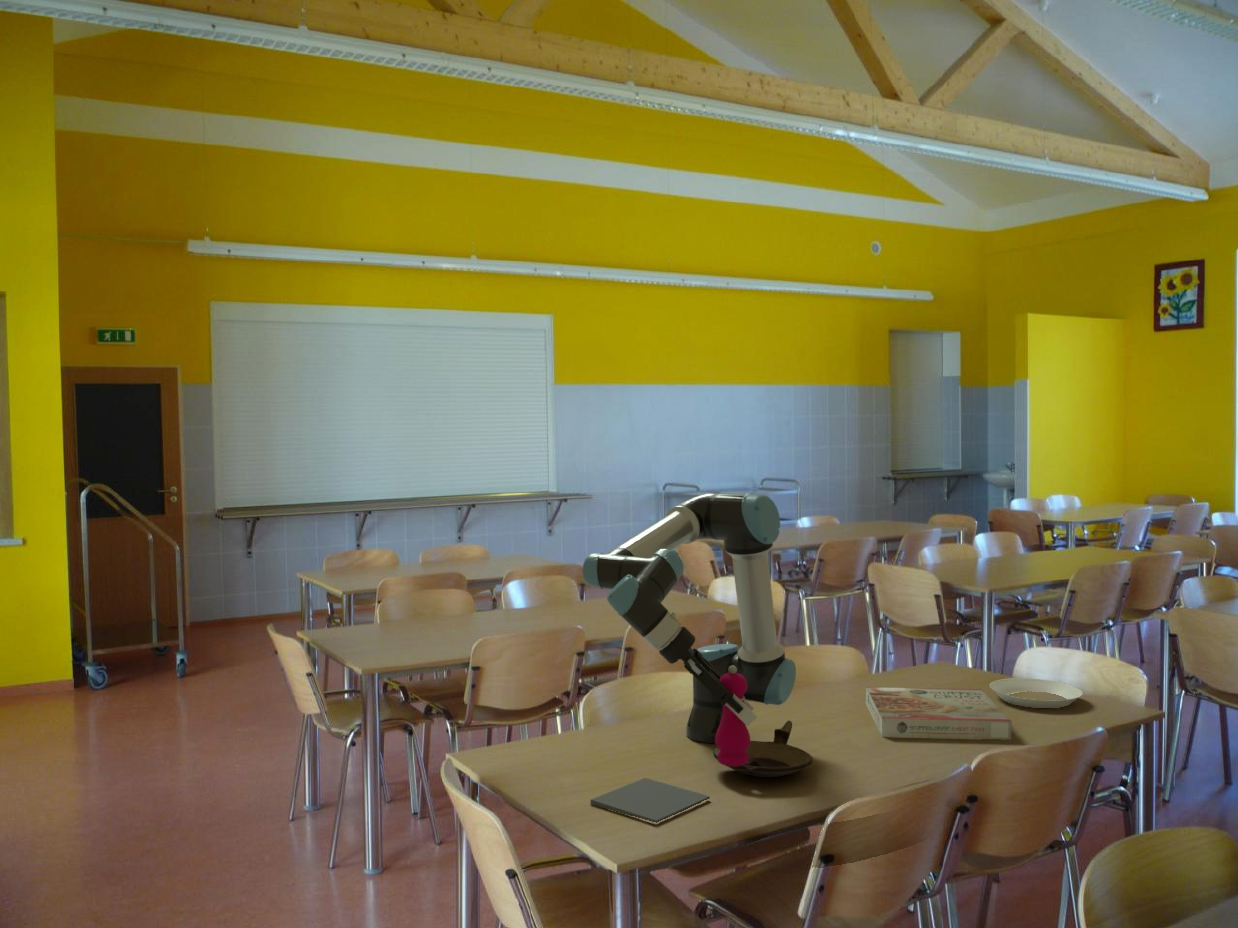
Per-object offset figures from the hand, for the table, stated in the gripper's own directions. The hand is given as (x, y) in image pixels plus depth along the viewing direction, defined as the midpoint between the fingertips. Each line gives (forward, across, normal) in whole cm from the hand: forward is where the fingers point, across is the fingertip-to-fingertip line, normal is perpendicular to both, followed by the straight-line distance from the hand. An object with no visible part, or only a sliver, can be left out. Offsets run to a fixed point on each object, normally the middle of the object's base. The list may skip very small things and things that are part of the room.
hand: (750, 716), depth 218 cm
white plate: (+80, +89, -48) cm, 129 cm away
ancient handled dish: (+20, +27, +10) cm, 35 cm away
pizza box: (+55, +68, -24) cm, 91 cm away
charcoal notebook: (0, +6, +29) cm, 30 cm away
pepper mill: (+4, 0, +9) cm, 10 cm away
